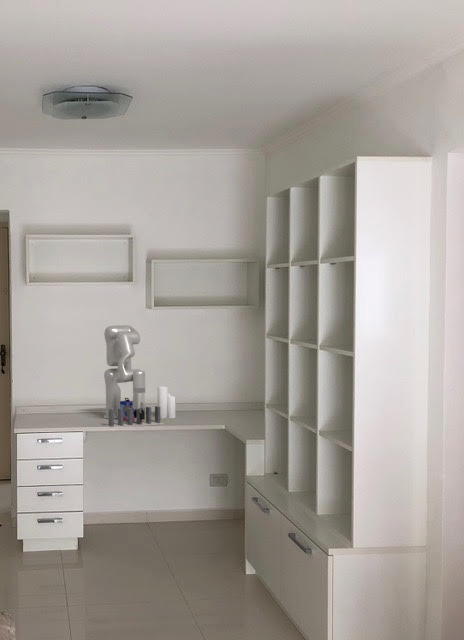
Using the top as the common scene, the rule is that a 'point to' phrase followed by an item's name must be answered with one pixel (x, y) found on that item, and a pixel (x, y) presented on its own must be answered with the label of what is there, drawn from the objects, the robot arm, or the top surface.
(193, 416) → the top surface
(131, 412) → the domino
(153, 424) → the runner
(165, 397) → the white tube cluster
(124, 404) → the ink cartridge box
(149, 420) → the domino
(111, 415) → the domino
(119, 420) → the domino
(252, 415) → the top surface
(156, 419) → the domino
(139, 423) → the domino
